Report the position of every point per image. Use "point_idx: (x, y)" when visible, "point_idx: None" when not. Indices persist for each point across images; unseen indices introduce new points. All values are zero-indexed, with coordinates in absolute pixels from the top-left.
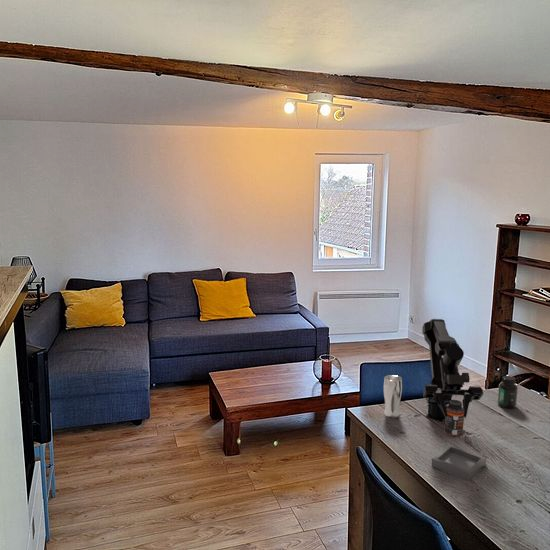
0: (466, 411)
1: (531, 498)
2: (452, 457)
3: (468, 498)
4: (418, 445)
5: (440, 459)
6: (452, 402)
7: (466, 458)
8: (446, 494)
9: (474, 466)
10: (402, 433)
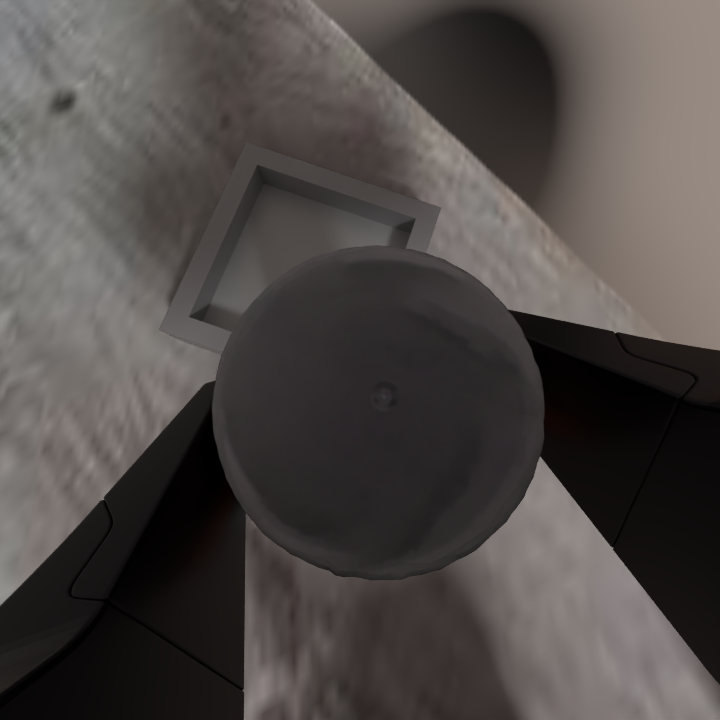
0: (177, 425)
1: (4, 137)
2: None
3: (259, 54)
4: None
5: None
6: (453, 321)
7: None
8: (342, 51)
9: (225, 214)
10: None
